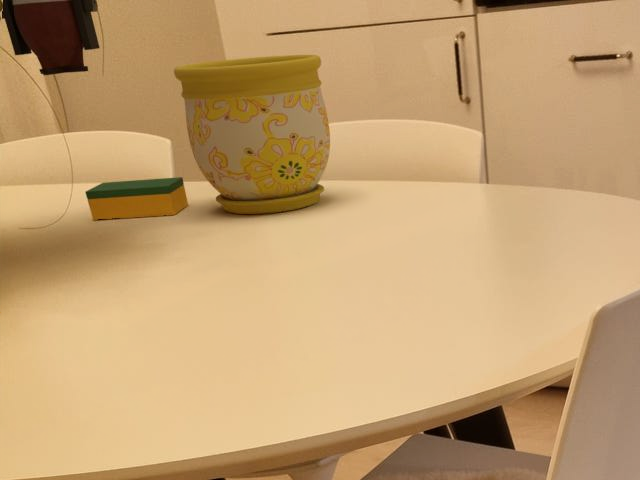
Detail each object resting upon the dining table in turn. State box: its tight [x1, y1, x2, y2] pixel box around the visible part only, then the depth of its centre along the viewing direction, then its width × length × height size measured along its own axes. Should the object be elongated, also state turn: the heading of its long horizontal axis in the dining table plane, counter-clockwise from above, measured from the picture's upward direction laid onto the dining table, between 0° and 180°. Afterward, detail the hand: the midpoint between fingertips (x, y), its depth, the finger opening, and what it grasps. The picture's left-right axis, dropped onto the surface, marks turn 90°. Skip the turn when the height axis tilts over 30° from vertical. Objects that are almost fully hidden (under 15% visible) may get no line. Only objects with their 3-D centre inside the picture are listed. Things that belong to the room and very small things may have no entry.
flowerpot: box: [173, 54, 331, 215], centre depth 121 cm, size 18×18×16 cm
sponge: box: [85, 176, 189, 221], centre depth 126 cm, size 11×7×4 cm, turn 90°
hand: (57, 51), depth 104 cm, fingers closed on mate gourd, 7 cm apart
